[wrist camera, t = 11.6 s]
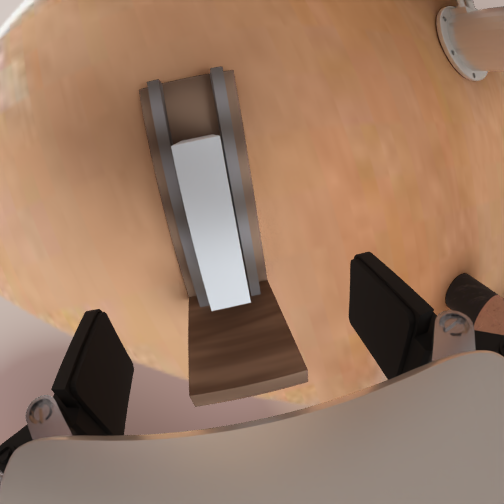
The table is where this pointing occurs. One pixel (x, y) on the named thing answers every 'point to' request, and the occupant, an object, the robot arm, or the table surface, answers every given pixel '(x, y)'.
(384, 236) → the table surface
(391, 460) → the robot arm
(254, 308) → the wooden display stand
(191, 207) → the plain gray box
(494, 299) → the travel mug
